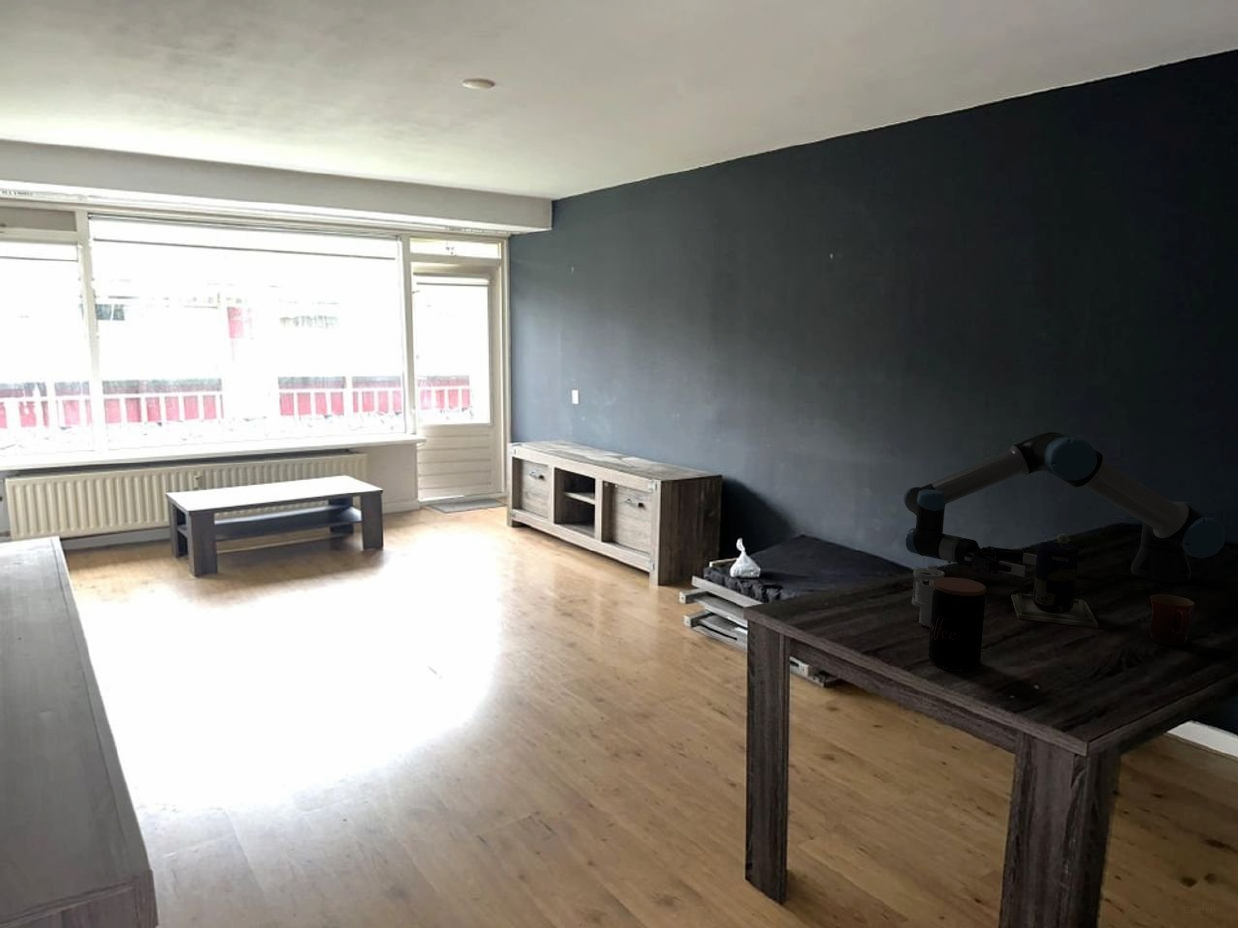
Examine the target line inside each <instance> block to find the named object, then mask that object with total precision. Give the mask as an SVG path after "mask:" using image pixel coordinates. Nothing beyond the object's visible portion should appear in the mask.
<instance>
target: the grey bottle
mask: <svg viewBox="0 0 1238 928" xmlns="http://www.w3.org/2000/svg"><path fill="white" fill-rule="evenodd" d="M924 573H925V574H924ZM926 573H928V574H926ZM939 578H945V572H944V571H943V570H940V569H938V565H937V564H930V565H928V567H917V568H914V569H913V586H912V587H913V588H912V597H911V604H912V605H913V606H915V607H917V608H919V619H918V620H919V621H918V624H919V623H921V624H923V625H927V626H930V624H931V609H932V595H933V591H934V590H935V588H934V586H933V582H934V580H936V579H939ZM923 582H928V584H924V583H923Z"/></svg>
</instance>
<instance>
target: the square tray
mask: <svg viewBox="0 0 1238 928" xmlns="http://www.w3.org/2000/svg"><path fill="white" fill-rule="evenodd" d="M1015 593H1016V594H1011V601H1012V605H1013V607H1014V611H1015V615H1016V619H1018V620H1026V621H1037V622H1043V623H1051V624H1052V623H1053V624H1062V625H1070V626H1079V627H1088V628H1094V629H1095V628H1096V629H1098V628H1099V623H1098V621H1097V620H1096V617H1095V616H1094V613H1093V612H1092V611H1091V609H1090V607H1089V606H1088V604H1087V602H1086V601H1084V600H1083V599H1076V598H1074V606H1073V608H1072V609H1071V610H1069V611H1064V612H1057V611H1049V610H1045V609H1041V608H1039V607H1037V606H1036V605H1035V604H1034V603H1033V594H1028V593H1020V592H1015Z"/></svg>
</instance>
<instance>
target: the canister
mask: <svg viewBox="0 0 1238 928" xmlns="http://www.w3.org/2000/svg"><path fill="white" fill-rule="evenodd" d="M1036 555H1037V557H1036V565H1035V569H1034V583H1033V594H1032V595H1033V603H1034V604H1035V605H1036V606H1037V607H1039V608H1041V609H1045V610H1049V611H1057V612H1064V611H1069V610H1071V609H1072V608H1073V606H1074V599H1075V596H1076V585H1077V578H1078V577H1077V574H1078V573H1077V570H1078V561H1079V560H1078V559H1079V549H1078V547H1076V546H1074V545H1072V544H1068V543H1067V544H1065V543H1060V542H1058V540H1054V541H1044V542H1040V543H1039V544H1037V548H1036Z"/></svg>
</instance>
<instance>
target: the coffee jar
mask: <svg viewBox="0 0 1238 928" xmlns="http://www.w3.org/2000/svg"><path fill="white" fill-rule="evenodd" d="M933 581H934V582H933V586H934V588H935V590H934V591H933V595H932V609H931V624H930V627H929V638H928V639H929V640H928V641H929V642H928V654H927V655H928V658H929V659H930V661H931V660H932V661H931V663H932V662H933V663H935V664H936V665H939V666H941V667H944V668H947V669H952V670H962V671H965V672H968V671H967V670H971V671H973V670H972V669H974V670H976V669H977V668H978V666H979V665H980V664H981V658H982V657H981V655H982V645H983V643H982V642H983V632H984V631H983V630H984V618H985V617H984V616H985V607H986V605H985V604H986V599H985V596H984V594H985V593H986V591H987V588H986V585H984V584H983V583H981V582H980V581H979V582H978V581H975V580H972V579H969V578H963V577H948V576H946V577H944V578H939V579H936V580H933ZM933 663H932V664H933ZM935 664H934V665H935ZM936 665H935V666H936ZM941 667H940V668H941ZM947 669H946V670H947ZM962 671H961V672H962Z"/></svg>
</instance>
